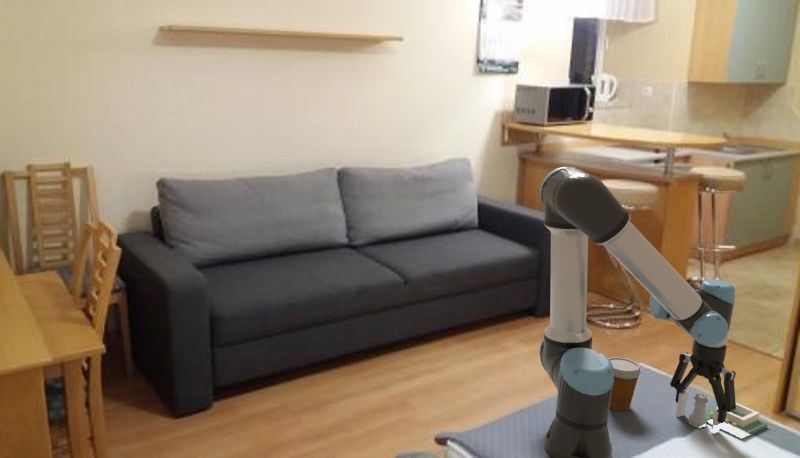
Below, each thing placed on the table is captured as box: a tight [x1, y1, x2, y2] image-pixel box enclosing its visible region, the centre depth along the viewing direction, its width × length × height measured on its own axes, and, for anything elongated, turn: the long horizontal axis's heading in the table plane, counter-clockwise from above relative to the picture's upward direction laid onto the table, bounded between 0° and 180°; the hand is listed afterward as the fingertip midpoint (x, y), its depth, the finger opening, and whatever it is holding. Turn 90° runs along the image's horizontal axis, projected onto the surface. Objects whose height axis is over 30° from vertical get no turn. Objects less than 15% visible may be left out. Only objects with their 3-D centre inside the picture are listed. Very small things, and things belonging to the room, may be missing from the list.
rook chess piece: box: [687, 393, 709, 428], centre depth 165 cm, size 4×4×8 cm
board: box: [705, 402, 768, 435], centre depth 167 cm, size 12×12×3 cm
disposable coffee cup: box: [608, 356, 642, 412], centre depth 173 cm, size 10×10×12 cm
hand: (697, 423), depth 166 cm, fingers open, 9 cm apart
